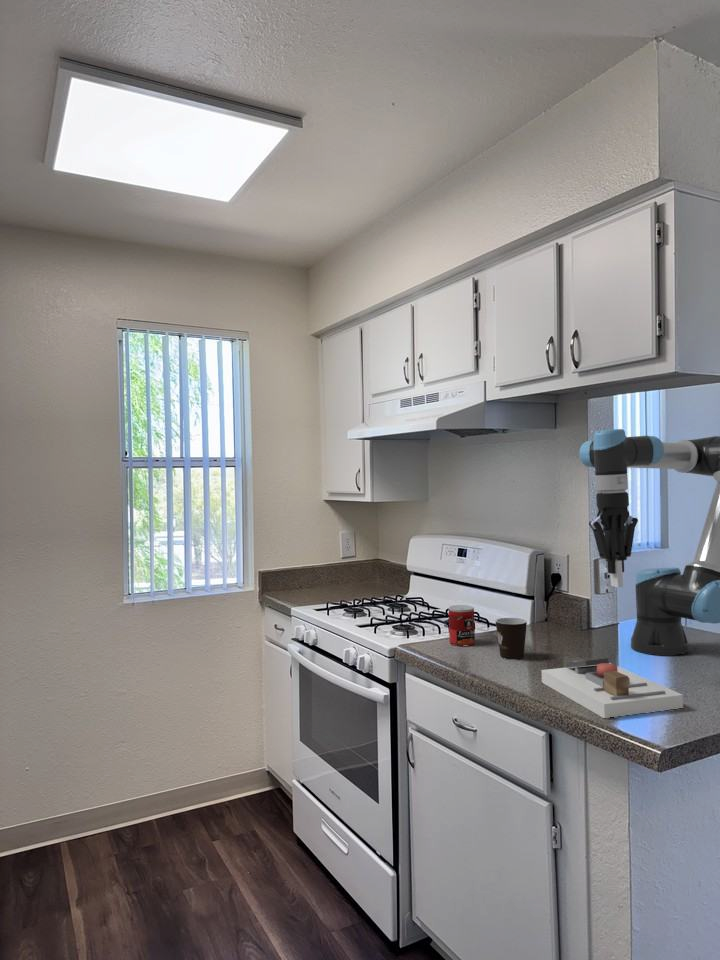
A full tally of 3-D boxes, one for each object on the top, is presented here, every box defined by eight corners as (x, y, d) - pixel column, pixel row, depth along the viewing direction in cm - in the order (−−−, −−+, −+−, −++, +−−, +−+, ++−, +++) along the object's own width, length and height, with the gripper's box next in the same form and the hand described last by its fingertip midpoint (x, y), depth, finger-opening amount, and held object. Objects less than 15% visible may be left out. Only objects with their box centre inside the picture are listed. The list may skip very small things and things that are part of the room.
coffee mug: (528, 661, 184) (527, 624, 183) (496, 660, 185) (495, 623, 185) (526, 650, 195) (525, 615, 195) (496, 649, 197) (495, 615, 197)
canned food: (458, 647, 199) (457, 610, 199) (444, 642, 207) (443, 606, 207) (480, 644, 203) (479, 608, 202) (465, 639, 210) (464, 603, 210)
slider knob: (616, 689, 148) (615, 670, 148) (628, 695, 144) (628, 676, 144) (604, 690, 148) (603, 672, 148) (616, 696, 143) (616, 677, 143)
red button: (609, 671, 157) (609, 662, 157) (621, 676, 153) (621, 667, 153) (593, 672, 156) (593, 664, 156) (604, 678, 152) (604, 669, 152)
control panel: (610, 674, 169) (609, 657, 169) (683, 708, 144) (682, 688, 144) (541, 682, 165) (541, 664, 165) (604, 718, 139) (604, 697, 139)
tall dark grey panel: (588, 665, 167) (587, 660, 167) (609, 663, 159) (607, 657, 159) (566, 667, 166) (565, 662, 166) (586, 666, 157) (585, 660, 158)
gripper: (599, 493, 162) (604, 591, 162) (644, 490, 166) (649, 585, 166) (580, 493, 169) (585, 586, 169) (624, 489, 173) (628, 581, 173)
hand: (616, 586), depth 168 cm, fingers closed
